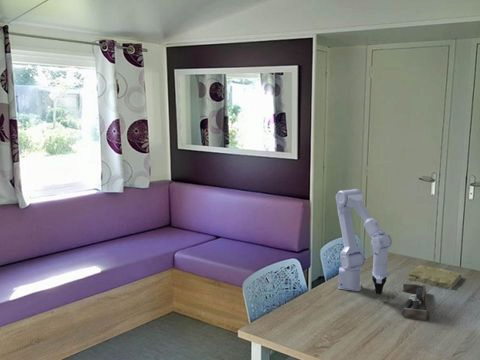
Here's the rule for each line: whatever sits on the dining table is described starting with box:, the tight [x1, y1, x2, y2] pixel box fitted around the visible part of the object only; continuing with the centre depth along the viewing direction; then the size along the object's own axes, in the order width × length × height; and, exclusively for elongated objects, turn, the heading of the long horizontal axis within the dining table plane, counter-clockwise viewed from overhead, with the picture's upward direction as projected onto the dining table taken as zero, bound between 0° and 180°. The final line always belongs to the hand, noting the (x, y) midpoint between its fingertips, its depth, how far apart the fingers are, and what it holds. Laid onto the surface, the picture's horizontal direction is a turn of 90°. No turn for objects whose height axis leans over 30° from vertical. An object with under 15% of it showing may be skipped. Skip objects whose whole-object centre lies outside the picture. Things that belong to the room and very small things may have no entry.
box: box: [402, 282, 430, 321], centre depth 201 cm, size 9×28×4 cm, turn 163°
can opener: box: [401, 288, 424, 316], centre depth 198 cm, size 19×5×6 cm, turn 148°
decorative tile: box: [407, 264, 462, 290], centre depth 230 cm, size 19×20×4 cm
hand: (378, 293), depth 205 cm, fingers closed
